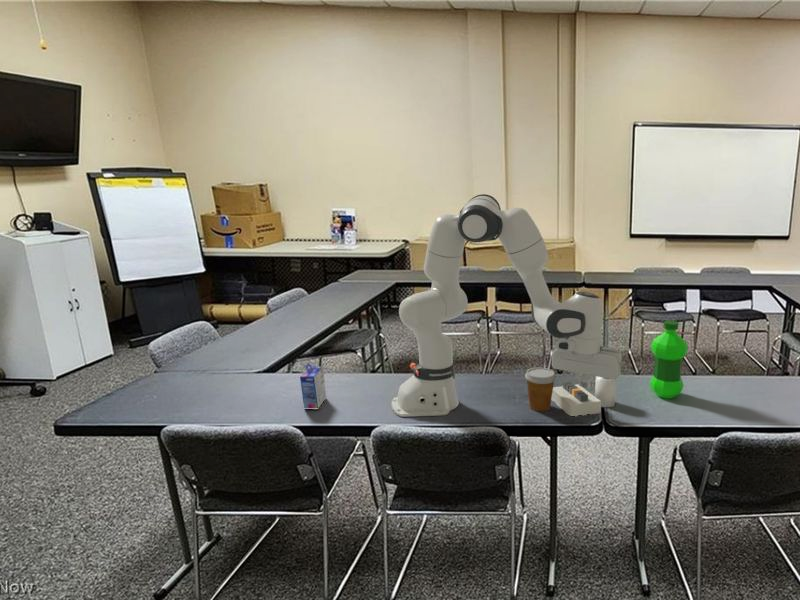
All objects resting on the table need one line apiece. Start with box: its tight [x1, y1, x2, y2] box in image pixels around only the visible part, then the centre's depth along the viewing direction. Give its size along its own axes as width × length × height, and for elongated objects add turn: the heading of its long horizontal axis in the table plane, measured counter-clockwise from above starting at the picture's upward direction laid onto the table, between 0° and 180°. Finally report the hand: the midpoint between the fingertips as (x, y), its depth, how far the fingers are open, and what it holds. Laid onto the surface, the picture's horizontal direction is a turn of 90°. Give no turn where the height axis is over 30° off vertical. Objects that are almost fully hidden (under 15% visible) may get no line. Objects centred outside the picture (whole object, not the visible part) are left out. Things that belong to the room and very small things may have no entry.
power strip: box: [551, 380, 602, 417], centre depth 170 cm, size 10×22×6 cm, turn 10°
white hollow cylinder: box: [594, 376, 617, 408], centre depth 166 cm, size 6×6×9 cm
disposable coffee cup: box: [524, 367, 557, 412], centre depth 165 cm, size 10×10×12 cm
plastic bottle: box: [649, 320, 689, 400], centre depth 168 cm, size 10×10×25 cm
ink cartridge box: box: [299, 362, 327, 409], centre depth 176 cm, size 10×6×14 cm, turn 172°
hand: (584, 386), depth 161 cm, fingers closed
